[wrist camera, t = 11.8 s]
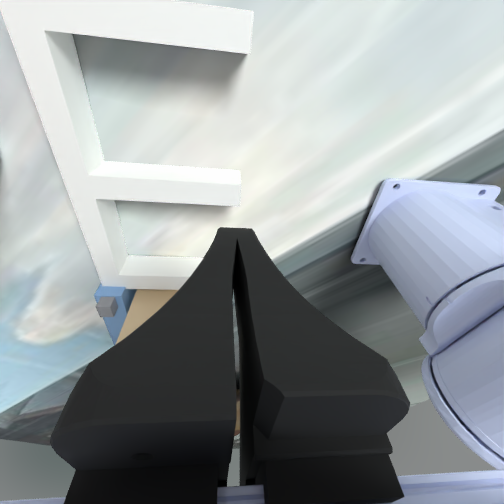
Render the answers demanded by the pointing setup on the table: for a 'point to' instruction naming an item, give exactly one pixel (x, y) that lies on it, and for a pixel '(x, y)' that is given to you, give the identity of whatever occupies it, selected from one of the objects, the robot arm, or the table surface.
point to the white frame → (86, 137)
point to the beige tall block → (143, 308)
